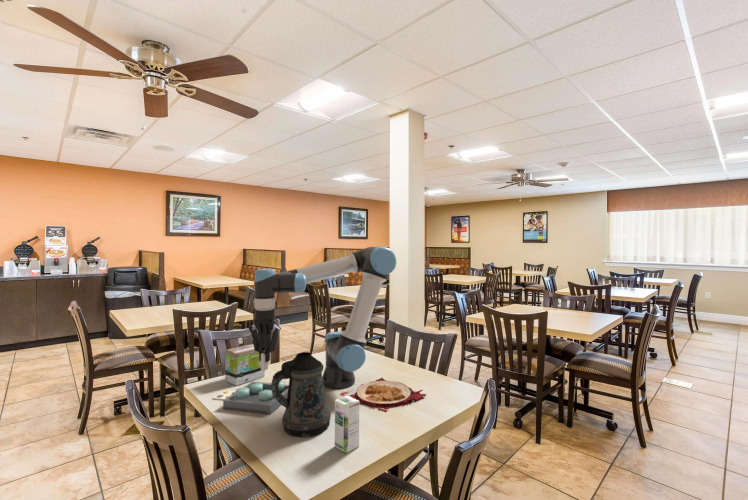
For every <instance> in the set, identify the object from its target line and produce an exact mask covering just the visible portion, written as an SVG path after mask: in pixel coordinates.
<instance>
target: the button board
mask: <svg viewBox="0 0 748 500" xmlns="http://www.w3.org/2000/svg"><path fill="white" fill-rule="evenodd" d="M255 383H261V384H263V390H271V382H262V381H250V383H248V384H246V385H245V386H243V387H242V388H249V397H247V398H244V399H237V398H236V392H235V393H234V394H232V395H231V396H229V397H228V398H226V399H225V400H222V402H223V403H222V407H223V410H227V411H228V410H229V411H237V412H238V411H240V412H247V413H256V414H263V415H272V414H273V413H275V411H276V410H278V408H280V407H281V406H282V405H281V404H280V403H279V402H278V401H277V400H276V398H275V397H274V395H273V393H272V399H271V400H269V401H265V402H262V401H259V393H257V394H252V393H250V386H251V385H252V384H255ZM288 386H289V384H284V390H282V391H280V392H281V394H282V395H283V396H284V397H285V398H286V399H287V395H288ZM271 391H272V390H271Z"/></svg>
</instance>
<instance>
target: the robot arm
mask: <svg viewBox="0 0 748 500" xmlns="http://www.w3.org/2000/svg"><path fill="white" fill-rule="evenodd" d="M396 266H397V257H396V255H395V253H394V251H393V250H392V249H390V248H388V247H386V246H381V245H380V246H368V247H366V248H363V249H360V250H356V251H353V252H350V253H349V254H348V255H346V256H342V257H338V258H334V259H330V260H326V261H323V262H318V263H314V264H310V265H307V266H302V267H298V268H295V269H291V270H283V271H281V272H279V273H276V271H275V269H274V268H259V269H256V270H255V271H254V309H255V310H254V320H255V321H254V322H253V324H252V325H250V326H248V331H249V332H250V335H251V340H252V344H253V345H254V350H255V351H257V352H259V361H261V371H267V370H268V369H269V362H270V360H271V353H272V352H274V351H275V350H276V346H277V341H278V337H279V333H280V331H281V330H282V327H281V326H278V325H276V321H275V318H276V314H275V313H276V309H275V307H276V306H275V305H276V304H275V303H276V302H275V301H276V300H275V299H276V296H275V295H276V294H282V293H296V294H297V293H303V292H305V290H306V287H307V284H311V283H315V282H319V281H324V280H326V279H329V278H334V277H337V276H342V275H346V274H349V273H354V274H357V273H361V275H362V280H361V283H360V286H359V289H358V292H357V295H356V298H355V301H354V303H353V304H354V305H353V307H352V309H351V313H350V316H349V319H348V323H347V325H346V328H345V330H343V331H332V332H331V331H330V332H327V334H326V335H325V341H324V342H325V367H324V369H323V372H322V379H323V385H324V388H329V389H345V388H349V387H351V386H353V385H354V384H355V382H356V376H355V373H354V372H356V371H358V370H359V369H360V368H362V367H363V365H364V364H365V362H366V358H367V356H366V350H365V348H366V345H367V343H368V341H367V340H366V338H365V337H366V334H367V331H368V329H369V324H370V321H371V318H372V315H373V313H374V309H375V305H376V303H377V300H378V297H379V294H380V290H381V288H382V284H383V283H385V282H387V281H388V277H389V275H390V274H391V273H392V272H393V271H394V270H395V269H396ZM264 351H265V352H264Z"/></svg>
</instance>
